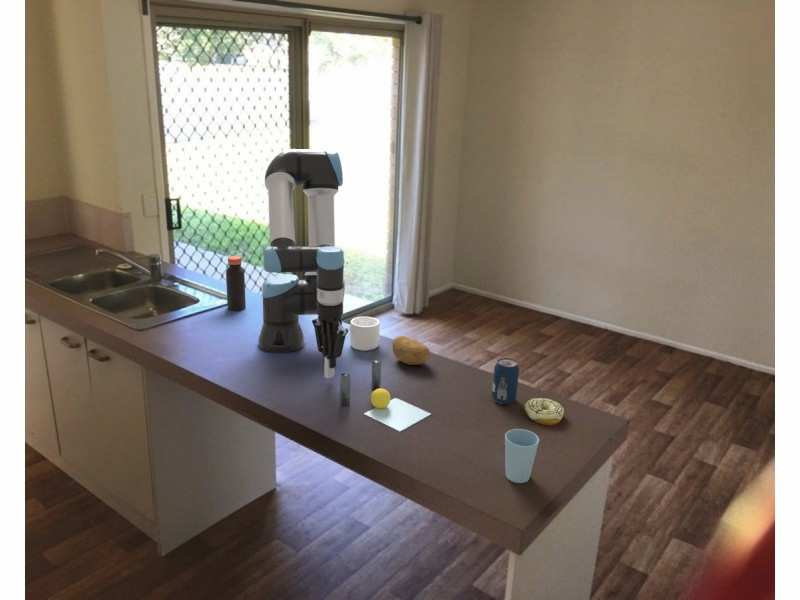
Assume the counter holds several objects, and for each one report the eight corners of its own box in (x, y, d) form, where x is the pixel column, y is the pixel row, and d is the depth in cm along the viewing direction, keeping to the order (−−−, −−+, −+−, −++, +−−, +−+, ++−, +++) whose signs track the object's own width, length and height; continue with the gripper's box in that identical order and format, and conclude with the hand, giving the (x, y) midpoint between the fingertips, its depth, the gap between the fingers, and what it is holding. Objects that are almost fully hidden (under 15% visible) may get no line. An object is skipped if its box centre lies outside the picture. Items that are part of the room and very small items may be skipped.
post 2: (369, 389, 191) (370, 361, 188) (375, 387, 192) (376, 359, 189) (376, 392, 189) (377, 364, 186) (382, 389, 191) (383, 361, 188)
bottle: (236, 312, 246) (234, 261, 239) (223, 308, 249) (221, 257, 243) (249, 307, 251) (247, 257, 245) (237, 303, 255) (234, 254, 248)
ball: (373, 388, 177) (383, 405, 176) (387, 382, 181) (397, 399, 179) (363, 397, 181) (373, 414, 179) (377, 391, 184) (387, 407, 183)
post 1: (338, 404, 181) (338, 375, 178) (344, 401, 183) (345, 372, 180) (344, 407, 180) (345, 378, 177) (351, 404, 182) (352, 375, 179)
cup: (535, 487, 148) (540, 447, 145) (501, 484, 149) (505, 444, 146) (533, 469, 155) (537, 430, 152) (500, 465, 156) (504, 427, 153)
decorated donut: (528, 426, 175) (529, 413, 174) (521, 407, 185) (522, 395, 184) (566, 427, 175) (568, 415, 174) (557, 408, 185) (559, 396, 184)
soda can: (511, 394, 192) (515, 356, 188) (519, 405, 185) (523, 366, 181) (488, 395, 191) (492, 357, 187) (495, 406, 184) (499, 367, 180)
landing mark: (363, 414, 177) (363, 413, 177) (395, 398, 186) (395, 397, 186) (399, 431, 169) (400, 431, 169) (431, 414, 178) (431, 413, 178)
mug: (364, 336, 229) (365, 312, 226) (388, 344, 223) (389, 319, 221) (342, 346, 220) (343, 321, 217) (366, 354, 214) (367, 329, 211)
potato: (416, 374, 201) (417, 351, 199) (384, 360, 211) (385, 337, 208) (437, 366, 208) (438, 343, 206) (405, 352, 217) (406, 330, 215)
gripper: (304, 298, 187) (305, 373, 195) (336, 310, 179) (335, 387, 187) (324, 293, 192) (323, 366, 200) (355, 304, 184) (354, 379, 192)
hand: (329, 376), depth 193 cm, fingers closed
